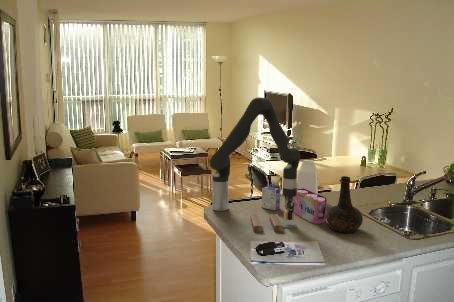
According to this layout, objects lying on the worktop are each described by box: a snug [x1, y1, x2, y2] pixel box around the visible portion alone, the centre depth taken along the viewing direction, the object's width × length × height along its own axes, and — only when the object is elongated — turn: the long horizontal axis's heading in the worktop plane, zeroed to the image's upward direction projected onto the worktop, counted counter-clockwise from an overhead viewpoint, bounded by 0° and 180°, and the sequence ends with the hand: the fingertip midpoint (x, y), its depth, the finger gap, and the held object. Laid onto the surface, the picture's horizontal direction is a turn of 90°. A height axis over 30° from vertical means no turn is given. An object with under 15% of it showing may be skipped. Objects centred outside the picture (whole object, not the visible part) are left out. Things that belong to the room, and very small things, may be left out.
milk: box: [297, 159, 319, 194], centre depth 273 cm, size 12×12×26 cm
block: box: [283, 208, 295, 221], centre depth 231 cm, size 4×4×4 cm
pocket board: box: [249, 213, 284, 233], centre depth 231 cm, size 15×18×3 cm
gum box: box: [293, 188, 328, 225], centre depth 243 cm, size 24×8×14 cm, turn 24°
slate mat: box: [281, 221, 299, 229], centre depth 231 cm, size 8×8×1 cm
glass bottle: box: [326, 175, 364, 234], centre depth 222 cm, size 18×18×28 cm
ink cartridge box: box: [261, 183, 281, 211], centre depth 260 cm, size 10×6×14 cm, turn 55°
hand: (288, 217), depth 231 cm, fingers closed on block, 4 cm apart
